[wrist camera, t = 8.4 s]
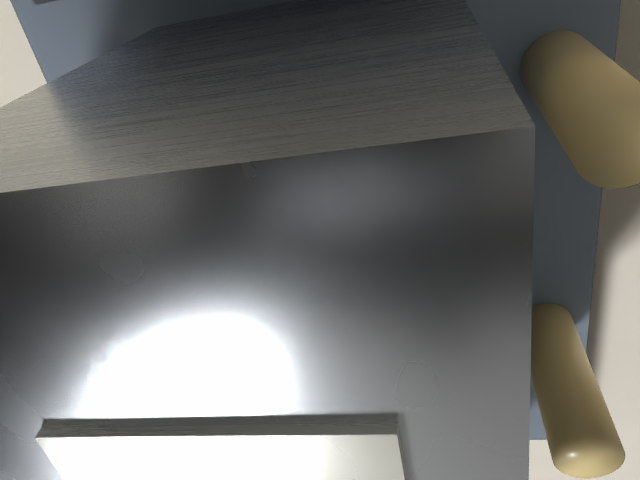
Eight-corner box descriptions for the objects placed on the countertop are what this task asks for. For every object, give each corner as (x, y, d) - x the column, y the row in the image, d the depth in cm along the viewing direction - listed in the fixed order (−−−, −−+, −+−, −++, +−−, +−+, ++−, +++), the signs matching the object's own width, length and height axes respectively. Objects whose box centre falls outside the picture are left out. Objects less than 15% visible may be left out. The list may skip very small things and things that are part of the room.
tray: (568, 411, 13) (621, 581, 10) (216, 415, 15) (163, 559, 11) (621, -247, 7) (818, -377, 3) (4, -91, 9) (-235, -83, 5)
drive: (472, 378, 12) (524, 760, 6) (273, 384, 12) (181, 721, 7) (448, -29, 7) (539, 134, 2) (155, 27, 8) (-232, 228, 3)
